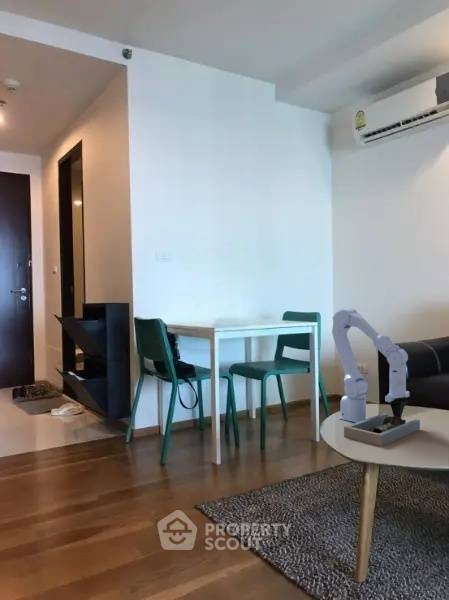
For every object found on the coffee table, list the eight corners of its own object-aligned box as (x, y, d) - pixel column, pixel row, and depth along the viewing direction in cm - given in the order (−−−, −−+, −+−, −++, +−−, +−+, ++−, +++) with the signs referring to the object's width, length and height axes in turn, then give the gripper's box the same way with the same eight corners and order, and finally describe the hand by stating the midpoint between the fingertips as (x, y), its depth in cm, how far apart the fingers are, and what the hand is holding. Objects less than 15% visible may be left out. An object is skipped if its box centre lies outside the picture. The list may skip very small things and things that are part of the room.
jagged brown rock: (384, 442, 159) (384, 425, 159) (366, 438, 164) (366, 422, 164) (409, 431, 171) (409, 416, 171) (391, 428, 176) (391, 413, 176)
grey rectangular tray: (344, 436, 164) (344, 426, 164) (384, 421, 183) (384, 412, 183) (380, 446, 154) (380, 435, 154) (419, 429, 173) (419, 420, 173)
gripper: (398, 386, 168) (397, 423, 168) (417, 380, 177) (417, 416, 178) (379, 383, 173) (379, 420, 173) (399, 378, 183) (399, 413, 183)
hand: (397, 418), depth 176 cm, fingers closed
